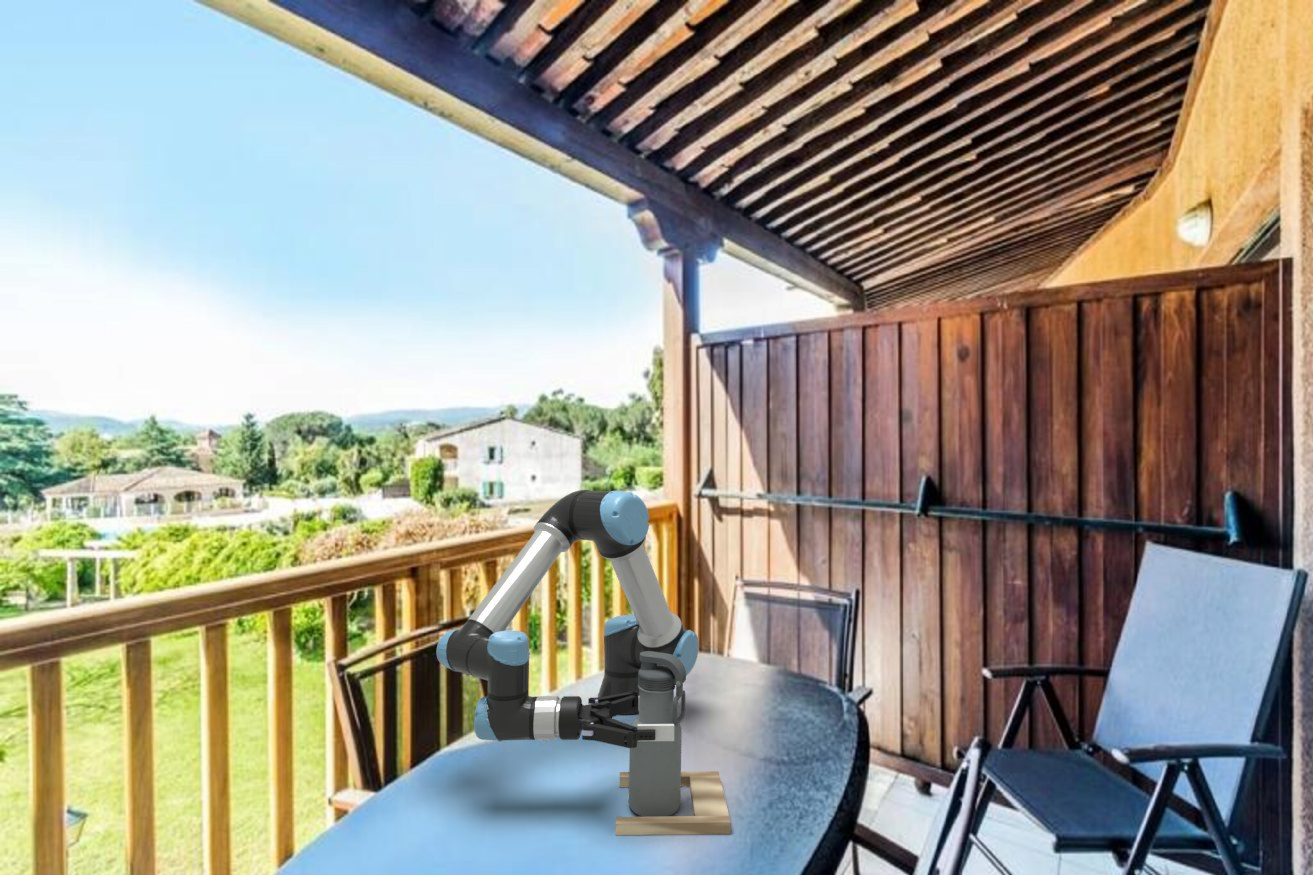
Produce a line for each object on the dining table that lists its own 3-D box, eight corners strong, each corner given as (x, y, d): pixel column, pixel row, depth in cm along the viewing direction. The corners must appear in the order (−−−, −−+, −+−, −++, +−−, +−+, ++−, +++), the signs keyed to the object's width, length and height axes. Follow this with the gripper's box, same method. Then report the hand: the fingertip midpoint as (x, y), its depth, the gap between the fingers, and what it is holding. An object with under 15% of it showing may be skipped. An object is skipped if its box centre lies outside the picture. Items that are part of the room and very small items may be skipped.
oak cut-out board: (619, 782, 126) (619, 772, 127) (718, 781, 127) (718, 771, 127) (615, 835, 108) (615, 823, 109) (730, 833, 109) (730, 822, 109)
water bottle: (688, 798, 120) (691, 650, 122) (673, 825, 111) (676, 665, 113) (639, 788, 124) (641, 645, 125) (620, 814, 115) (623, 659, 116)
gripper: (567, 711, 130) (669, 710, 131) (549, 770, 105) (675, 769, 106) (568, 675, 131) (669, 674, 131) (549, 725, 106) (675, 724, 106)
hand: (672, 716), depth 118 cm, fingers open, 13 cm apart
